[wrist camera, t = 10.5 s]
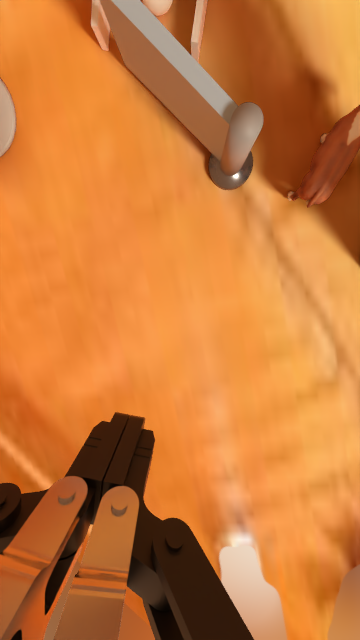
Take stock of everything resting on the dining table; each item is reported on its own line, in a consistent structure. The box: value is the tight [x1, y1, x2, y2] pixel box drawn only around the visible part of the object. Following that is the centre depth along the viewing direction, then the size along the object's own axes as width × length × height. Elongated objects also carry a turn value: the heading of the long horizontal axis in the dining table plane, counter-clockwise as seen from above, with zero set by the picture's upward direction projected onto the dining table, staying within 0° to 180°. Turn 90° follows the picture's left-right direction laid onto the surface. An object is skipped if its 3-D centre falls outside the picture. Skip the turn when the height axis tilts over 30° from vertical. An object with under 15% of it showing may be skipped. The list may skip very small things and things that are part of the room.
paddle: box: [100, 0, 263, 176], centre depth 26 cm, size 20×3×11 cm, turn 49°
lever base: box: [209, 151, 253, 190], centre depth 33 cm, size 6×6×1 cm
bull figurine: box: [288, 105, 360, 207], centre depth 29 cm, size 4×13×8 cm, turn 149°
